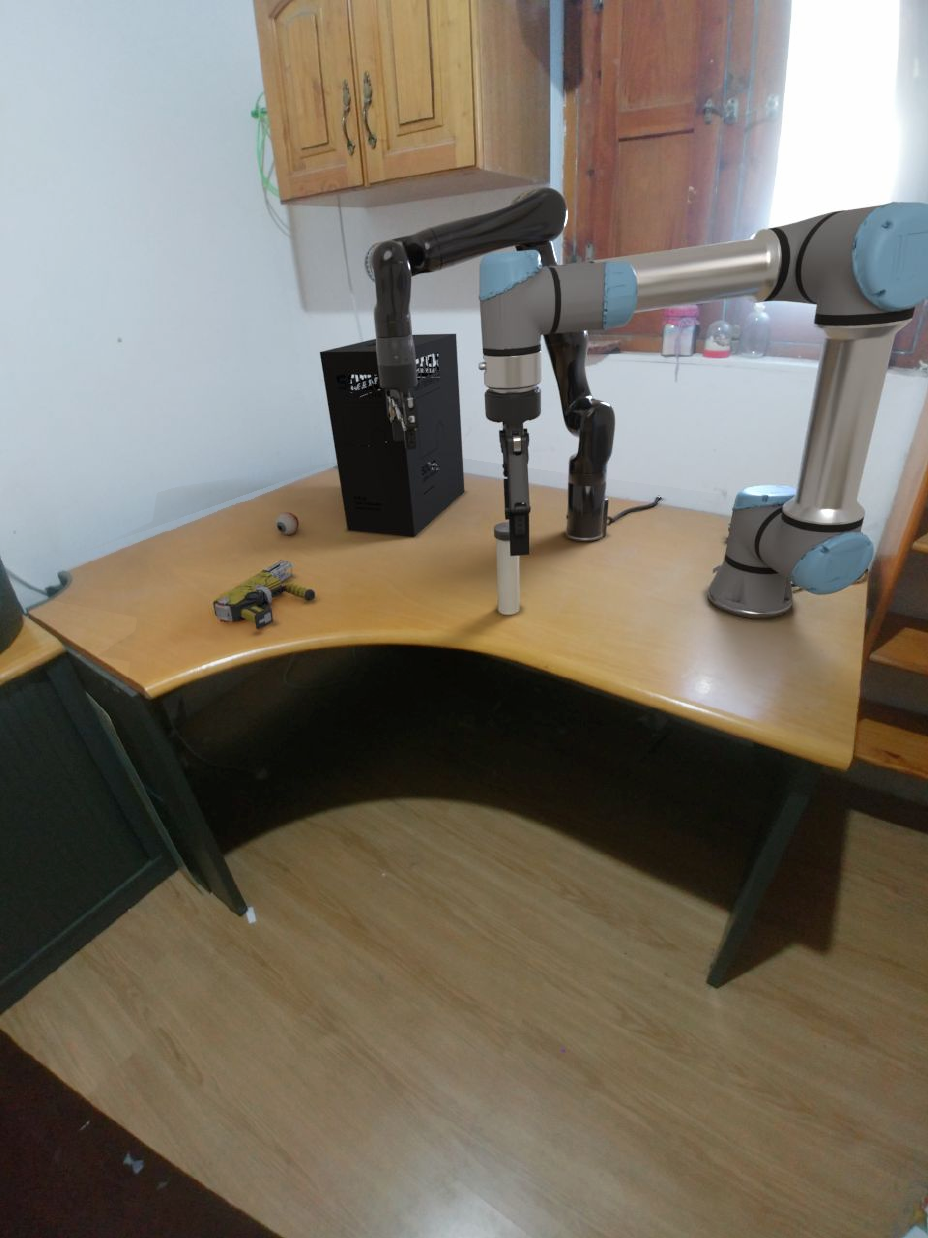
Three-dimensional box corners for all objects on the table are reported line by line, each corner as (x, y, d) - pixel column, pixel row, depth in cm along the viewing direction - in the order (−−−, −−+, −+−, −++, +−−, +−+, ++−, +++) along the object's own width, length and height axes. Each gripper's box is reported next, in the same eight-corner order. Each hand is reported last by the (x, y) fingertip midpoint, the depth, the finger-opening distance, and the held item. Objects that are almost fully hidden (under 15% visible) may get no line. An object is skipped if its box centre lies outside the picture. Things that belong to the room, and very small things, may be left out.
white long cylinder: (498, 615, 121) (496, 533, 112) (497, 604, 125) (495, 525, 116) (519, 614, 121) (519, 533, 112) (518, 604, 124) (518, 524, 116)
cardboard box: (406, 487, 196) (390, 335, 173) (464, 491, 189) (456, 333, 167) (347, 529, 166) (319, 351, 143) (414, 536, 159) (396, 350, 136)
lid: (494, 541, 112) (493, 532, 112) (493, 530, 117) (493, 522, 116) (521, 540, 112) (521, 531, 111) (520, 529, 117) (520, 521, 116)
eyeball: (273, 537, 164) (268, 516, 161) (287, 528, 169) (282, 508, 166) (291, 539, 161) (286, 518, 158) (305, 530, 166) (301, 510, 163)
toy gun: (335, 569, 136) (278, 557, 140) (271, 616, 116) (207, 600, 120) (336, 587, 139) (280, 575, 142) (274, 637, 118) (211, 621, 122)
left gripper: (426, 362, 113) (433, 449, 121) (404, 355, 125) (411, 435, 133) (387, 367, 111) (397, 455, 119) (369, 359, 123) (378, 440, 131)
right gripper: (482, 373, 91) (489, 507, 102) (486, 409, 69) (494, 574, 80) (532, 369, 90) (533, 504, 101) (552, 405, 69) (551, 570, 80)
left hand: (404, 444), depth 126 cm, fingers open, 8 cm apart
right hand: (516, 535), depth 91 cm, fingers open, 13 cm apart
